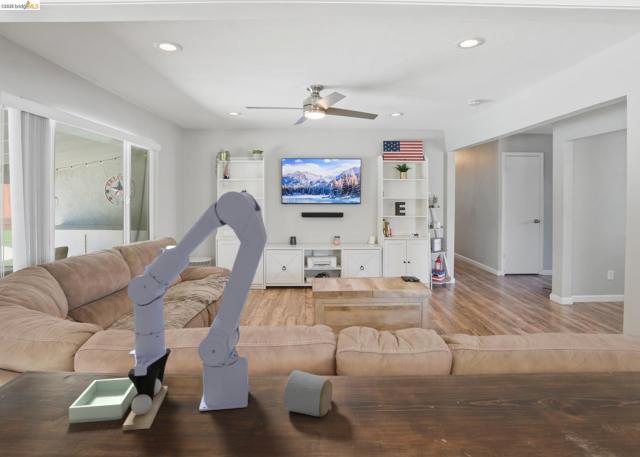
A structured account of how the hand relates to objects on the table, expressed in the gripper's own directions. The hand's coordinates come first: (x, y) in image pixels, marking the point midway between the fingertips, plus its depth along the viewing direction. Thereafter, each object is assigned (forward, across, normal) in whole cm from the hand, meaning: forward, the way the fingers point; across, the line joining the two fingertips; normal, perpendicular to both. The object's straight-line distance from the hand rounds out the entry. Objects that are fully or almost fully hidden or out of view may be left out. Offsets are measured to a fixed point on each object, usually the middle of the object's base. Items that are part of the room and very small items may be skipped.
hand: (152, 392), depth 80 cm
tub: (+1, +1, -8) cm, 9 cm away
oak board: (+1, +4, 0) cm, 4 cm away
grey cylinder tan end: (+2, +8, +33) cm, 34 cm away
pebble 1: (-1, +7, 0) cm, 7 cm away
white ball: (-1, 0, 0) cm, 1 cm away
